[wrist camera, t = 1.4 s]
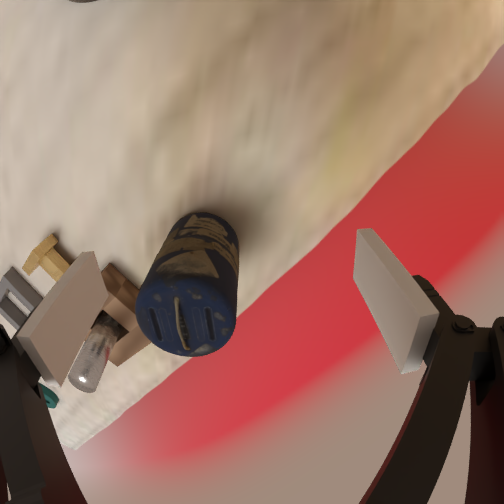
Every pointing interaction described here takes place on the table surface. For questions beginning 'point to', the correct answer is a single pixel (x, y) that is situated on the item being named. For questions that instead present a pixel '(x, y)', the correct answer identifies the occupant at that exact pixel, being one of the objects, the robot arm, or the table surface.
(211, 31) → the table surface
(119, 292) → the socket block
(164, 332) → the canister
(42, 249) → the yellow t-shaped block
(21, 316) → the grey square frame
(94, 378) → the grey rounded rod
